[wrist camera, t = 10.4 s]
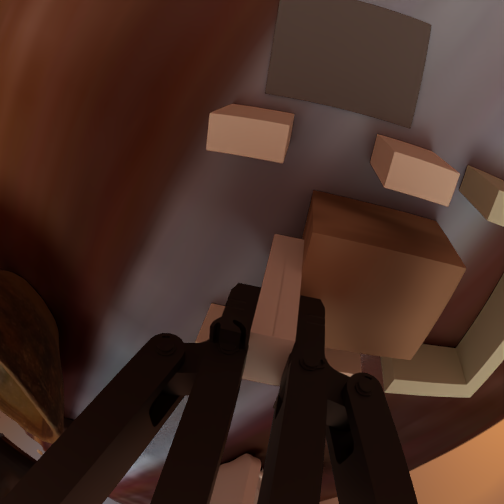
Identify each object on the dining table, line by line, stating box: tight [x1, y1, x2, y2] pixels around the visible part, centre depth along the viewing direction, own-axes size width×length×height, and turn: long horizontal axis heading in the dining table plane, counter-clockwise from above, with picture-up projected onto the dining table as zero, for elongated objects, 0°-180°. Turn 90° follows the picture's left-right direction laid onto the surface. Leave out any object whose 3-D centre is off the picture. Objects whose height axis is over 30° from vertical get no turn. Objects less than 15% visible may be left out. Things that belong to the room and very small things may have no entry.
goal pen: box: [380, 165, 504, 397], centre depth 15 cm, size 8×14×4 cm, turn 173°
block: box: [300, 190, 466, 360], centre depth 15 cm, size 7×6×4 cm
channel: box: [195, 104, 460, 377], centre depth 16 cm, size 10×14×4 cm
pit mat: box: [265, 0, 431, 128], centre depth 12 cm, size 7×6×1 cm
